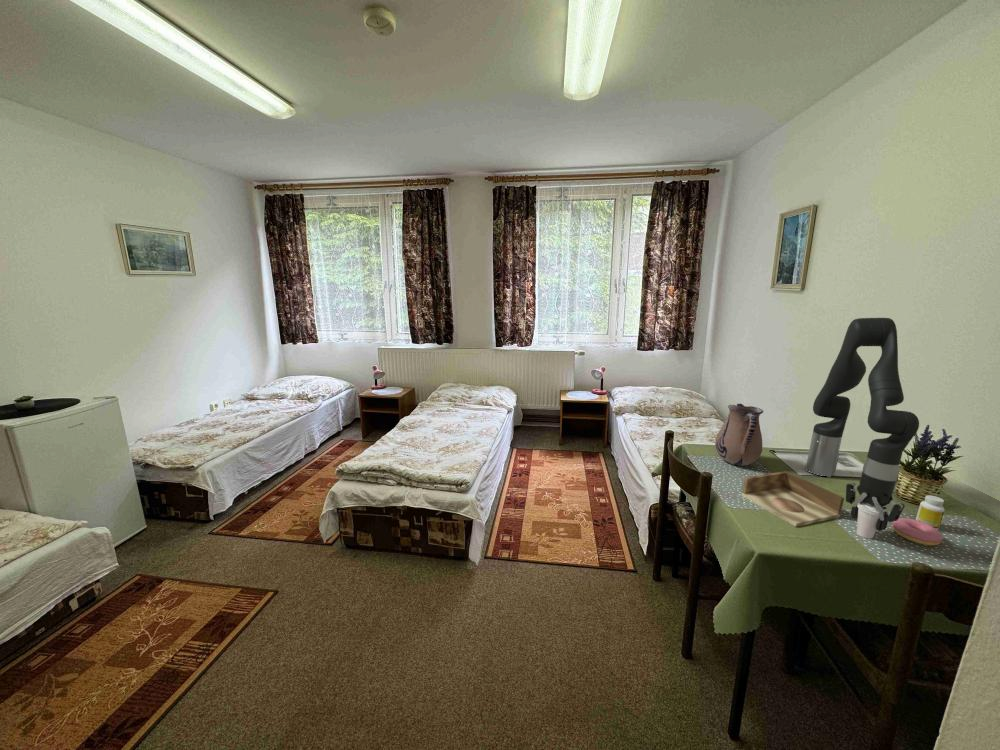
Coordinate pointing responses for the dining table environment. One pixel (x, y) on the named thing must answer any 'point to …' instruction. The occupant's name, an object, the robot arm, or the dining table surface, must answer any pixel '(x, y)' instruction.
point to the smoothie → (867, 520)
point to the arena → (792, 498)
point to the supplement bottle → (931, 511)
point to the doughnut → (917, 531)
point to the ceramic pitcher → (740, 435)
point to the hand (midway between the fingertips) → (866, 523)
